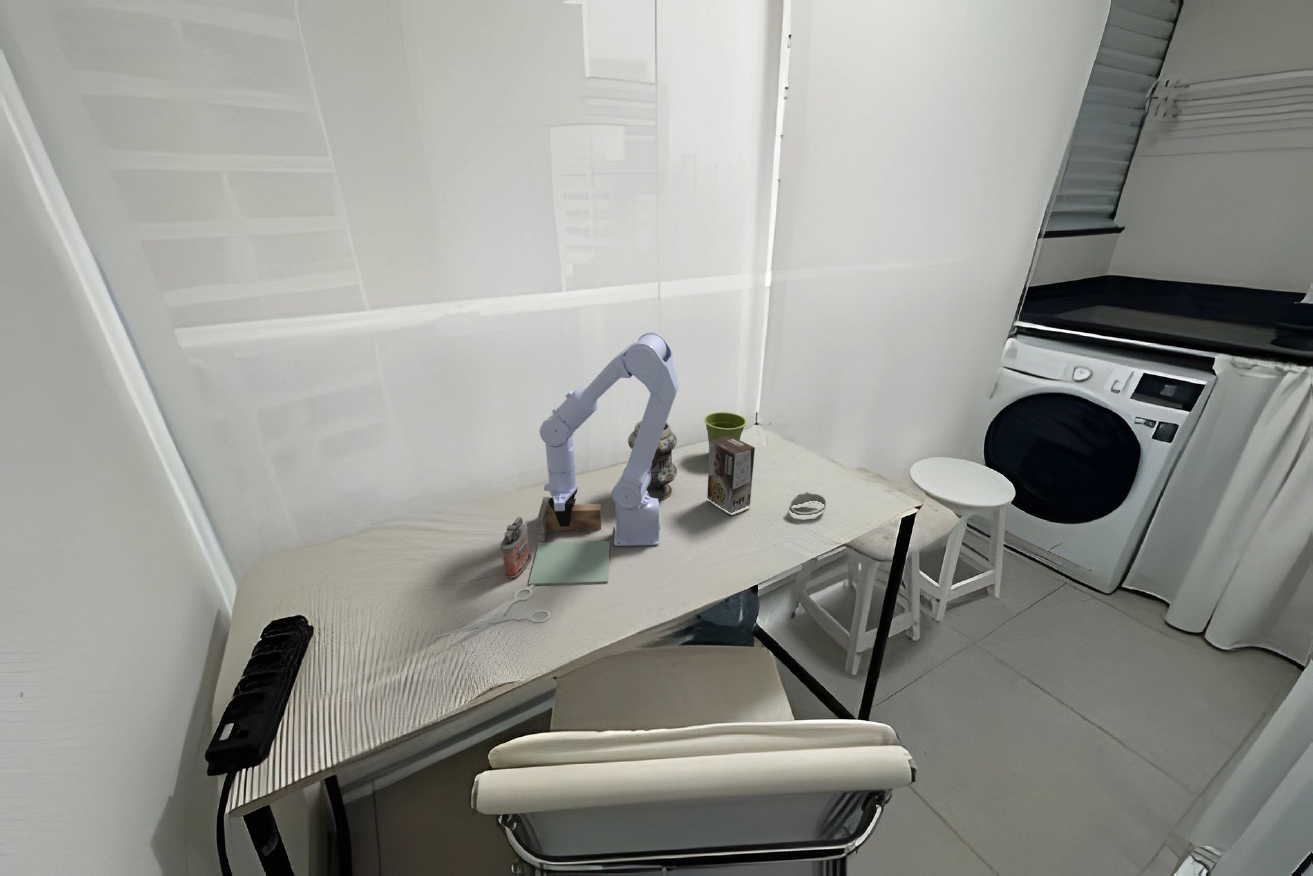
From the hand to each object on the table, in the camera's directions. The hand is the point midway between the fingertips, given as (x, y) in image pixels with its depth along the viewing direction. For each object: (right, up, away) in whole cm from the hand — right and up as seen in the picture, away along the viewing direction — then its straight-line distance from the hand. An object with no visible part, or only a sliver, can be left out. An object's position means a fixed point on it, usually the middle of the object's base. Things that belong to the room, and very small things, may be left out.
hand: (565, 521), depth 119 cm
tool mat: (+3, -7, -11) cm, 13 cm away
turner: (+1, -1, +1) cm, 2 cm away
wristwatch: (+56, +1, +6) cm, 56 cm away
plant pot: (+39, +13, +33) cm, 53 cm away
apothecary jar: (+19, +5, +15) cm, 25 cm away
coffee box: (+38, +2, +10) cm, 39 cm away
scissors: (-8, -14, -25) cm, 30 cm away
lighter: (-7, -7, -12) cm, 16 cm away
